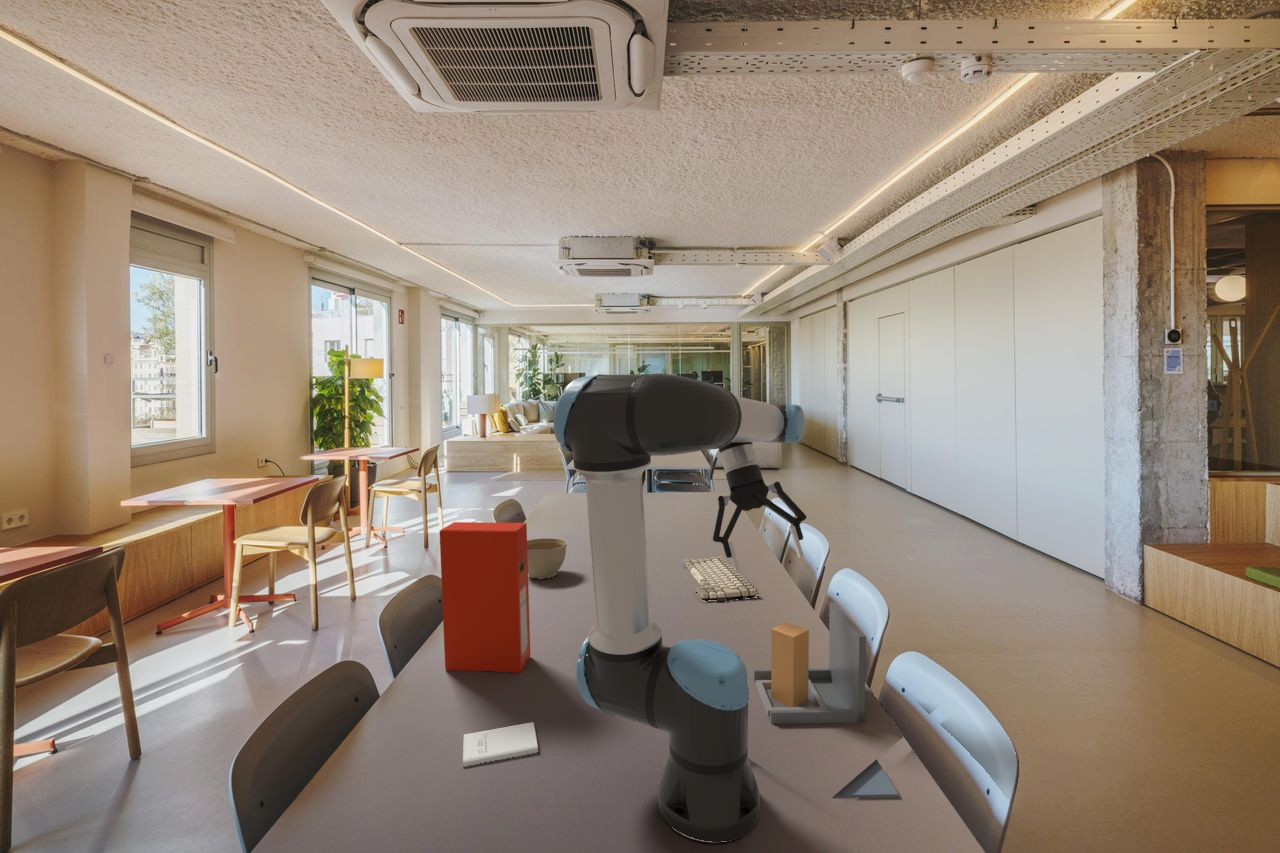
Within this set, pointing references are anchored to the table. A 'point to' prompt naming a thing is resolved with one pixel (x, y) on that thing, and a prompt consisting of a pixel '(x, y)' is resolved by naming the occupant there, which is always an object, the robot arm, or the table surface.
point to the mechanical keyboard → (719, 580)
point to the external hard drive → (499, 744)
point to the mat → (869, 784)
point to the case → (827, 680)
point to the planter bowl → (545, 556)
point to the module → (789, 664)
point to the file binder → (485, 596)
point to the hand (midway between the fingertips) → (769, 564)
